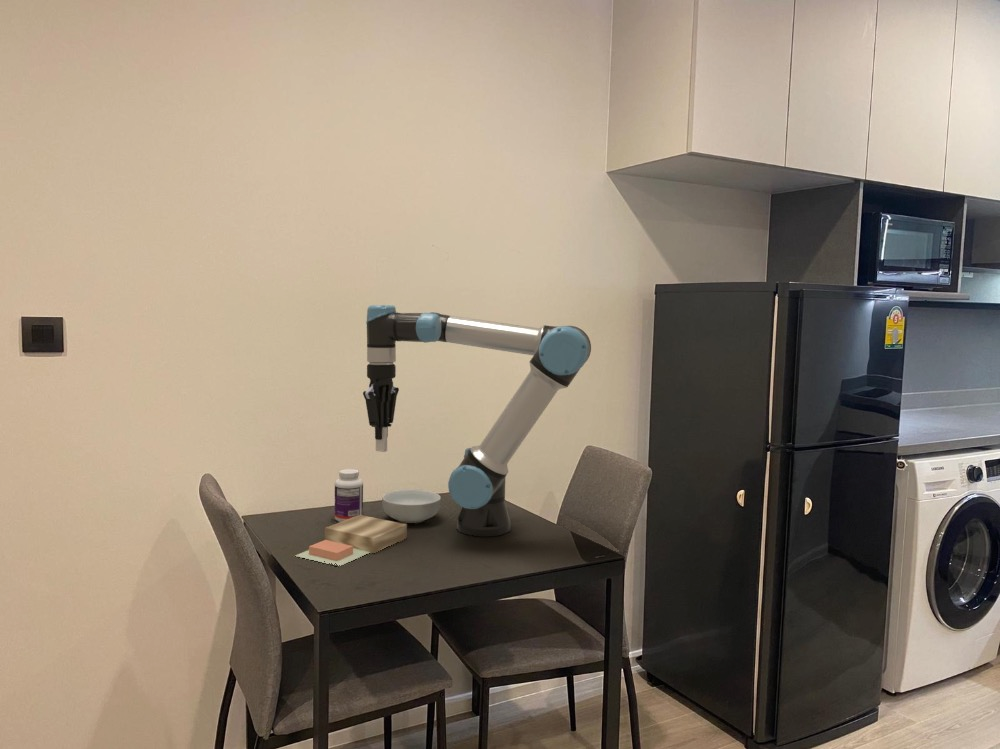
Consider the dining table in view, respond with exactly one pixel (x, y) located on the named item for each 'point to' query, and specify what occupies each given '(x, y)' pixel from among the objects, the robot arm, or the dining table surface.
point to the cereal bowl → (411, 505)
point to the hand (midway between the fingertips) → (381, 450)
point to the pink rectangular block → (331, 550)
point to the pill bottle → (348, 495)
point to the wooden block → (366, 533)
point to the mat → (356, 554)
